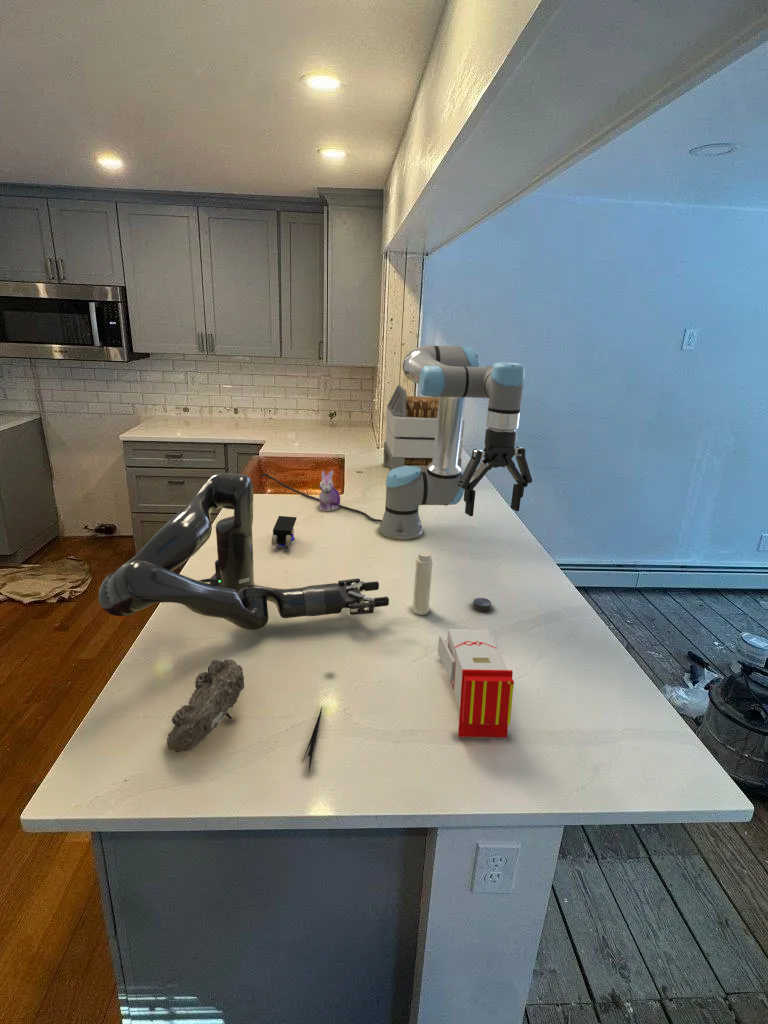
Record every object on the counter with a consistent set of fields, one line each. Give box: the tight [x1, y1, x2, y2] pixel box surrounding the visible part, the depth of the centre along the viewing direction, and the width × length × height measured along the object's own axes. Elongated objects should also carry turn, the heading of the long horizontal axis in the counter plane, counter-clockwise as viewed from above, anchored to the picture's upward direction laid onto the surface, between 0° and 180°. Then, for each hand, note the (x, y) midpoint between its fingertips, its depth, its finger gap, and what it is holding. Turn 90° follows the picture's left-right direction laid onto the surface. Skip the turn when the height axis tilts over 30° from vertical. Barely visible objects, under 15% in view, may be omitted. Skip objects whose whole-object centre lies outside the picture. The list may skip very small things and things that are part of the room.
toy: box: [437, 628, 515, 738], centre depth 117 cm, size 12×13×30 cm
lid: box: [472, 597, 492, 613], centre depth 152 cm, size 5×5×2 cm
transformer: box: [383, 384, 465, 471], centre depth 268 cm, size 34×33×41 cm
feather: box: [301, 673, 332, 771], centre depth 108 cm, size 2×28×2 cm
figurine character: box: [270, 515, 297, 551], centre depth 186 cm, size 7×8×15 cm
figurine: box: [318, 469, 341, 512], centre depth 220 cm, size 9×10×15 cm
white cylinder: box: [412, 550, 434, 616], centre depth 147 cm, size 4×4×16 cm
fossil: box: [166, 658, 245, 754], centre depth 106 cm, size 22×10×15 cm
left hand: (383, 593), depth 145 cm, fingers open, 8 cm apart
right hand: (492, 512), depth 144 cm, fingers open, 13 cm apart
